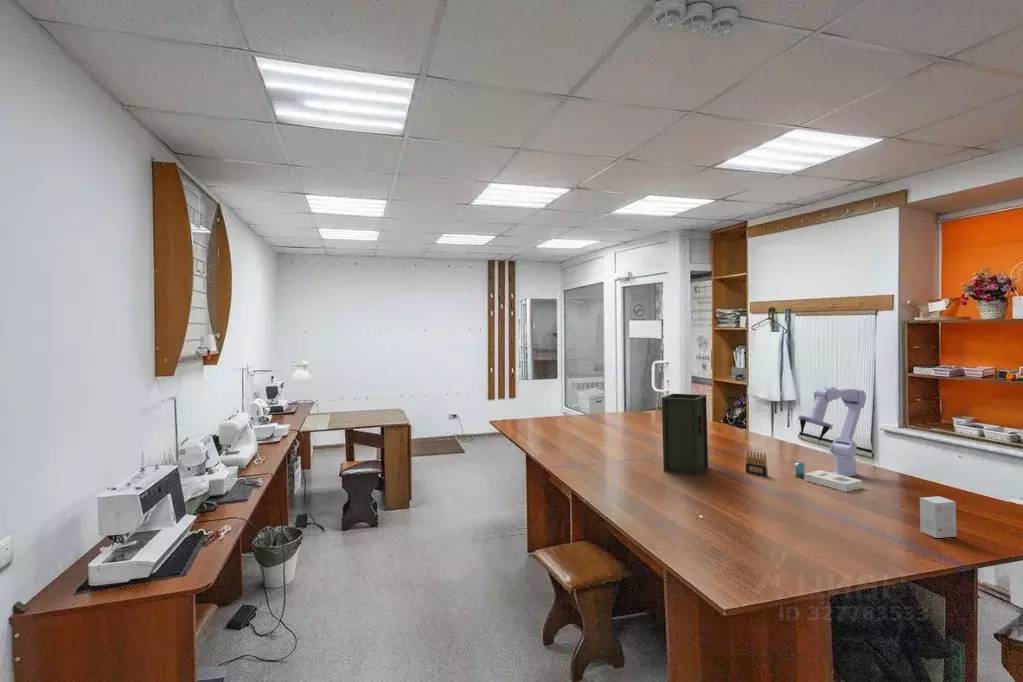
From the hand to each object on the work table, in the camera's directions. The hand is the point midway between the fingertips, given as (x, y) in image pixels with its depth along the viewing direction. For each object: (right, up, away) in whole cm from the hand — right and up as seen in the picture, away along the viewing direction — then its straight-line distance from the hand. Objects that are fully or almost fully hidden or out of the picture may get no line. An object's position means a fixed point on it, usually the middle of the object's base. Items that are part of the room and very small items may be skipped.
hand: (810, 437), depth 240 cm
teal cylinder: (+1, -22, +11) cm, 25 cm away
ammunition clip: (-17, -23, +18) cm, 33 cm away
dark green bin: (-49, -23, +31) cm, 63 cm away
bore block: (+9, -22, -2) cm, 24 cm away
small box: (+9, -23, -61) cm, 66 cm away
